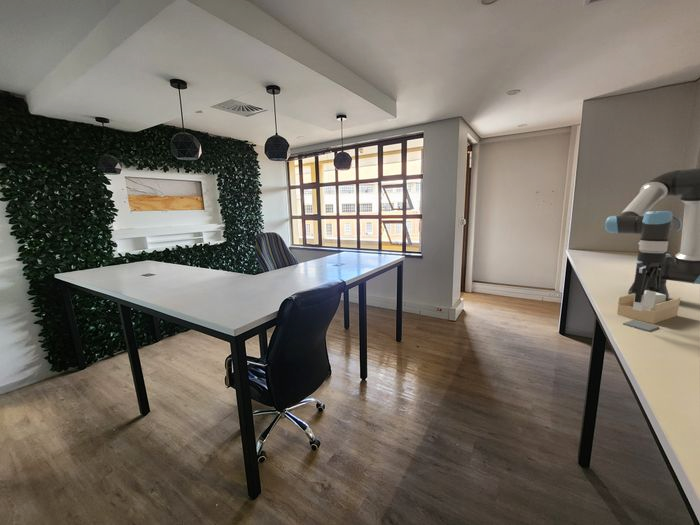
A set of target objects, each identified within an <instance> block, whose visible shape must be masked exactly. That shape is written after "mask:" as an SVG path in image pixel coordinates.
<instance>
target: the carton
mask: <svg viewBox="0 0 700 525" xmlns="http://www.w3.org/2000/svg"><path fill="white" fill-rule="evenodd" d="M634 297H635V293H634V294H630V295H628V294H627V295H626V294H625V295H623V296H619V297H618V302H617V303H618V305H617V312H616V314H617V315H618V316H621V315H622V316H623V317H625V316H626V318H629V317H630V318H629V319H632V318H633V319H632V320H636V319H637V320H636V321H639V322H643V321H644V322H643V323H647V324H651V325H655V324H657V323H660V322H664V321H666V320H669V319H672V318H675V317H678V312H679V307H680V306H679V305H680V303H681V297H679V296H678V297H676V298H674V299H669V300H667V301H665V302H663V303H659V304H656V306H655V312H653V311H649V310H644V309H643V311H639V310H634V309H633V303H634ZM622 316H621V317H622Z"/></svg>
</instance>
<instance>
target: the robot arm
mask: <svg viewBox="0 0 700 525" xmlns="http://www.w3.org/2000/svg"><path fill="white" fill-rule="evenodd" d="M666 197H680V201H681V202H682V203H683V204H684V209H683V218H682V219H683V221H682V220H681V219H680V218H679V217H677V216H675V215H674V214H673V211H670V210H656V211H653V210H652V208H653V207H654V206H655V205H656V204H657V202H659V201H660V200H662V199H664V198H666ZM650 210H651V211H650ZM604 227H605V228H604V229H605V232H607V233H609V234H627V235H628V234H633V235H640V238H639V239H640V240H639V242H638V245H639V246H638V250H639V252H637V257H636V258H637V259H636V260H637V261H636V266H635V274H634V282H632V285H631V286H630V287H629V289H628V292H627V295H630V294H634V293H635V297H634V303H633V309H634V310H639V311H643V305H644V306H646V307H651V308H654V303H655V297H656V292H657V293H660V294H664V295H666V300H665V302H666V301H669V300H670V293H669V291H668V288H667V287H668V286H667V281H673V282H679V283H687V284H693V285H700V167H696V168H685V169H676V170H670V171H666V172H664V173H661V174H658V175H657V176H654V177H653V178H651V179H649V180H648V181H646V182H645V183H644V184H643V185H642V186H641V187H640V188H639V193H637V195H636V196H635V198H633V200H632V201H631V202H630V203H629V204H628V205H627V206H626V207H625V208H624V209H623V211H622V212H620V213H619V215H610V216H608V217H607V218H606V220H605V224H604ZM680 230H682V232H681V241H680V242H681V243H680V251H679V252H678V253H676V254H675V255H674V257H673V256H672V255H671V254H670V253H666V252H667V251H668V246H669V238H670V236H671V235H673V234H676V233H677V232H679V231H680ZM645 290H647V291H646V296H645V295H644V292H645ZM648 290H649V291H648ZM644 299H645V302H644Z"/></svg>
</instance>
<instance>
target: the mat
mask: <svg viewBox="0 0 700 525" xmlns="http://www.w3.org/2000/svg"><path fill="white" fill-rule="evenodd" d="M622 325H624V326H626V325H627V326H626V327H630V328H633V327H634V329H638V330H641V331H644V332H648V333H649V332H652V331H655V330H657V329H659V328H660V326H659V325H656V324H651V323H647V322H643V321H640V320H636V319H632V320H629V321H626V322H623V323H622Z"/></svg>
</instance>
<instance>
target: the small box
mask: <svg viewBox="0 0 700 525" xmlns="http://www.w3.org/2000/svg"><path fill="white" fill-rule="evenodd" d="M646 291H647V290H645V292H644V295H645V296H646ZM648 291H649V290H648ZM665 300H666V295H664V294H660V293H657V292H656V297H655V303H654V308H651V307H646V306H644V305H643V309H644V310H649V311H653V312H655V306H656V304H659V303H663V302H666V301H665ZM644 302H645V299H644Z"/></svg>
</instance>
